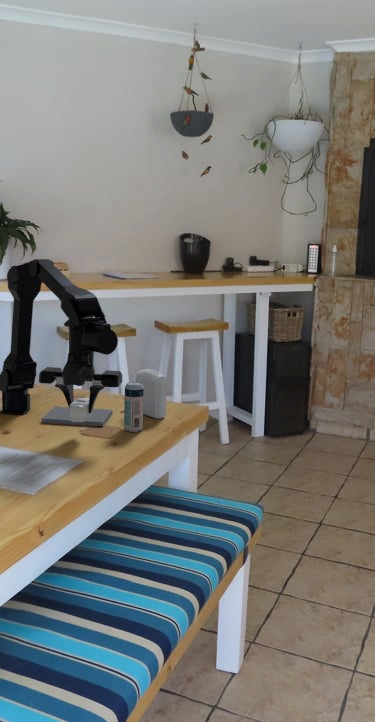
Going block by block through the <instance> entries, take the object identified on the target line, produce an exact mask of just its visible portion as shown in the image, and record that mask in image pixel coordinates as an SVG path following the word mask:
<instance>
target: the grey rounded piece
mask: <svg viewBox="0 0 375 722" xmlns="http://www.w3.org/2000/svg"><path fill="white" fill-rule="evenodd" d="M89 398H90V397H78V398H75V399H74V401H73V402H72V403H71V404H70V421H72V422H84V421H86V420H87V419H88V418H89V417H90V416H91V415H92V412H91V413H89V408H88V407H89Z"/></svg>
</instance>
